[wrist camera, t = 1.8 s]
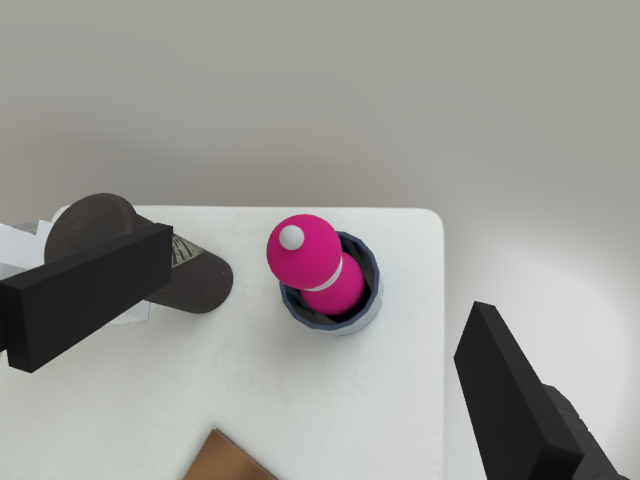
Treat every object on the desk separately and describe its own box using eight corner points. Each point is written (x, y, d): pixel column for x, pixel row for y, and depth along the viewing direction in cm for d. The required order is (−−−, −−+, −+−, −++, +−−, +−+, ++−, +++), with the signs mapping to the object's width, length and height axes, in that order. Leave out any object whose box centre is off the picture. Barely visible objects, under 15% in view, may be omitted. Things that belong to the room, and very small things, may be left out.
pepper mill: (305, 315, 42) (228, 278, 23) (315, 259, 44) (252, 184, 25) (364, 324, 40) (330, 291, 21) (372, 265, 42) (346, 188, 23)
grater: (94, 260, 52) (-72, 205, 34) (153, 249, 51) (12, 184, 32) (84, 330, 49) (-110, 310, 30) (148, 320, 47) (-17, 292, 28)
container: (244, 296, 45) (133, 249, 26) (185, 329, 45) (36, 305, 27) (223, 243, 48) (112, 169, 30) (169, 274, 49) (26, 220, 30)
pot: (398, 272, 41) (397, 256, 35) (356, 352, 39) (347, 350, 33) (324, 237, 45) (311, 216, 39) (283, 308, 43) (262, 298, 37)
